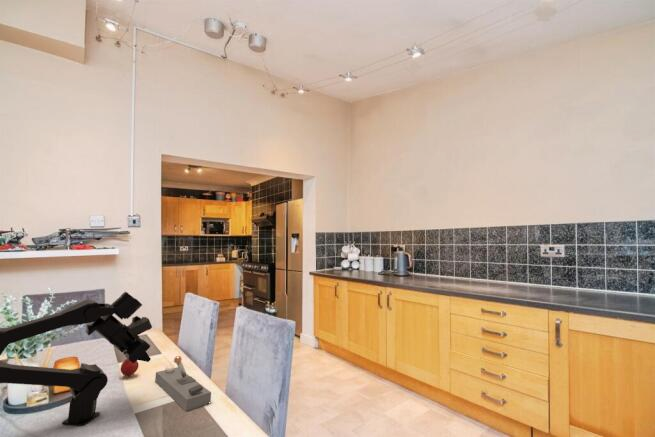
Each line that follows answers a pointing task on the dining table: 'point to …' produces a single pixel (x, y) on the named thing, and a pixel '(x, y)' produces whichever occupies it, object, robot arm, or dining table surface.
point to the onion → (129, 368)
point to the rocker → (195, 389)
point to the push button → (169, 369)
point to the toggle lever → (180, 366)
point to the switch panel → (182, 389)
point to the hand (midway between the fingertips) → (149, 360)
